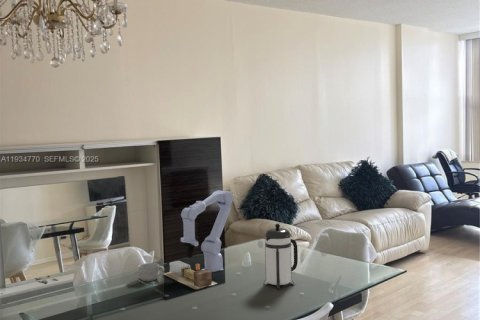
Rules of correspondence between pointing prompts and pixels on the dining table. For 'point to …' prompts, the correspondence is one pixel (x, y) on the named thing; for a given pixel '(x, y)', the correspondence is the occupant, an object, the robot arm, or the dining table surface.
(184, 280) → the birch board
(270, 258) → the coffee press
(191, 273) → the gold square bar
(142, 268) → the teacup
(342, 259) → the dining table surface
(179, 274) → the steel block
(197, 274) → the walnut socket
